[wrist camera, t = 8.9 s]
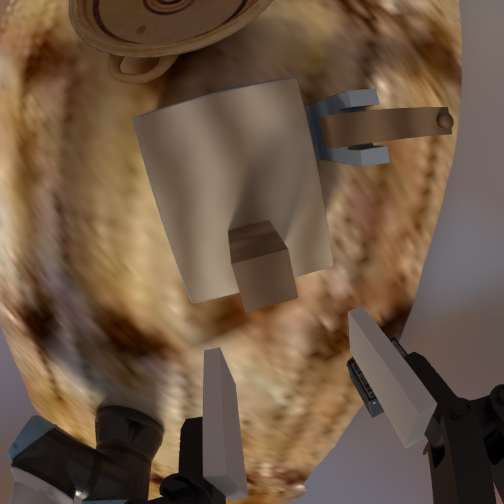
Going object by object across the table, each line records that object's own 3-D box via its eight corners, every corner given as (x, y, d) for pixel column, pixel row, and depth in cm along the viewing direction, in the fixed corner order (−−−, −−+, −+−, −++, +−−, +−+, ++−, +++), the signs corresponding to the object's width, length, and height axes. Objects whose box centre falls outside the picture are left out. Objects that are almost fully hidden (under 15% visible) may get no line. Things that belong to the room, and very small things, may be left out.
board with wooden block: (193, 298, 30) (186, 353, 22) (137, 120, 23) (99, 110, 15) (329, 261, 31) (366, 304, 22) (293, 81, 24) (327, 54, 15)
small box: (351, 381, 50) (371, 420, 40) (345, 362, 47) (367, 403, 38) (397, 357, 49) (422, 391, 40) (395, 336, 47) (423, 371, 37)
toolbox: (196, 271, 38) (188, 322, 27) (151, 124, 31) (118, 114, 19) (351, 230, 38) (397, 263, 27) (324, 85, 31) (369, 63, 20)
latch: (326, 148, 25) (339, 149, 22) (319, 117, 24) (332, 114, 21) (440, 133, 25) (459, 134, 22) (436, 107, 24) (454, 107, 21)
